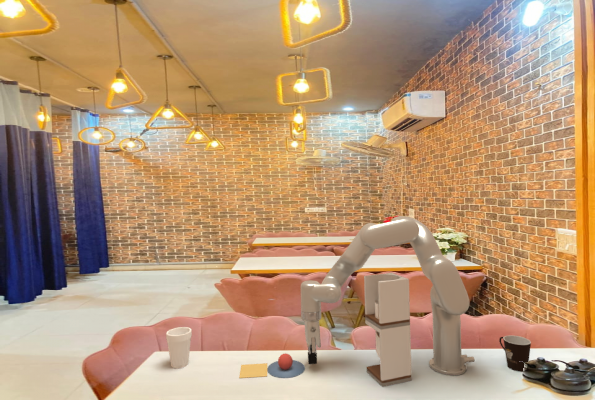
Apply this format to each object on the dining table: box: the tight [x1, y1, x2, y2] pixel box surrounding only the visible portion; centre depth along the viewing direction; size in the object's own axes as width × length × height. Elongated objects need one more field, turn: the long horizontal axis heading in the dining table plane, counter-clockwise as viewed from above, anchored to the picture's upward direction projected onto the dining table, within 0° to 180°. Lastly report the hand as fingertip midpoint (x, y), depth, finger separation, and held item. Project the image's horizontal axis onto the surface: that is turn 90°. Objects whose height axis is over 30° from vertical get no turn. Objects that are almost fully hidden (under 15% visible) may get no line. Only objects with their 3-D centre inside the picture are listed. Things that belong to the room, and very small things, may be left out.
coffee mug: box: [498, 335, 532, 373], centre depth 133 cm, size 12×9×10 cm
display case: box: [363, 272, 412, 388], centre depth 127 cm, size 11×11×35 cm
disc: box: [267, 359, 306, 379], centre depth 135 cm, size 14×14×1 cm
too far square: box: [238, 362, 268, 379], centre depth 134 cm, size 10×10×1 cm
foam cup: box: [165, 326, 193, 369], centre depth 141 cm, size 10×9×13 cm
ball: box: [277, 352, 294, 370], centre depth 135 cm, size 6×6×6 cm
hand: (312, 362), depth 136 cm, fingers closed
